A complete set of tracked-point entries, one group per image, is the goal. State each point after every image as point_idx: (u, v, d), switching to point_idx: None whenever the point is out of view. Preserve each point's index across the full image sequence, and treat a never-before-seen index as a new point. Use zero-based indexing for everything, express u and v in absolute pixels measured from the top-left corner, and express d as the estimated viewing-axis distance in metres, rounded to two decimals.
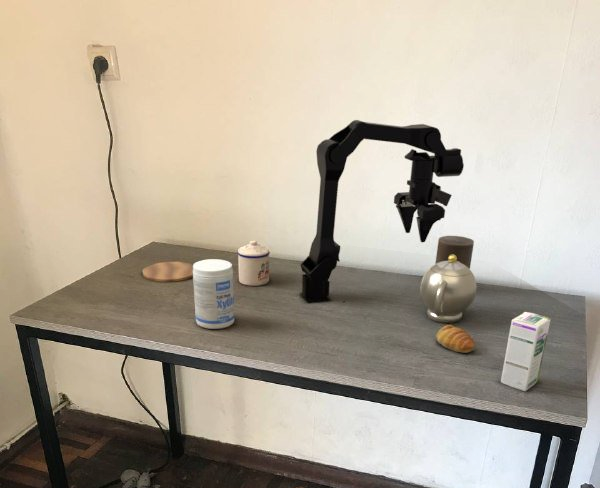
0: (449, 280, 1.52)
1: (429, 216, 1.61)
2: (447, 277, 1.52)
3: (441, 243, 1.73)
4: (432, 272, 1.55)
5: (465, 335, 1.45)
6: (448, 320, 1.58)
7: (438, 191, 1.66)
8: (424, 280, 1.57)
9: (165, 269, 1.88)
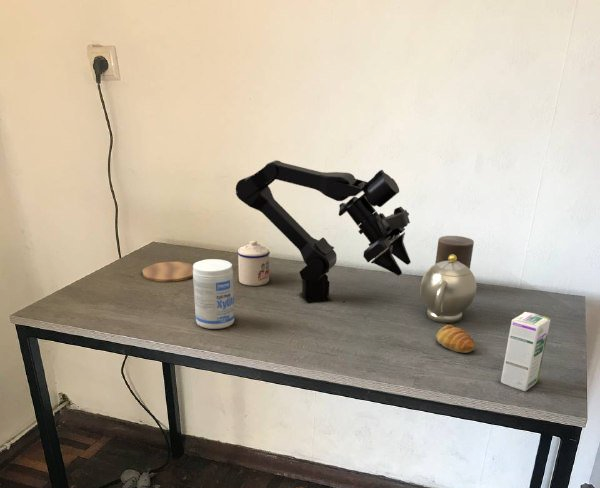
0: (449, 280, 1.52)
1: (370, 257, 1.52)
2: (447, 277, 1.52)
3: (441, 243, 1.73)
4: (432, 272, 1.55)
5: (465, 335, 1.45)
6: (448, 320, 1.58)
7: (385, 221, 1.53)
8: (424, 280, 1.57)
9: (165, 269, 1.88)
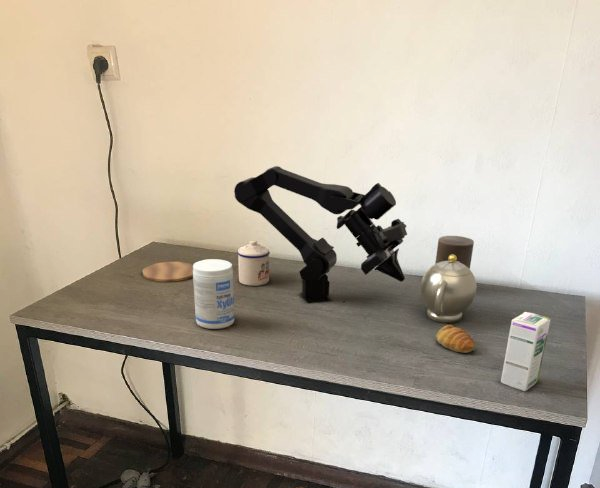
0: (449, 280, 1.52)
1: (368, 269, 1.53)
2: (447, 277, 1.52)
3: (441, 243, 1.73)
4: (432, 272, 1.55)
5: (465, 335, 1.45)
6: (448, 320, 1.58)
7: (382, 233, 1.55)
8: (424, 280, 1.57)
9: (165, 269, 1.88)
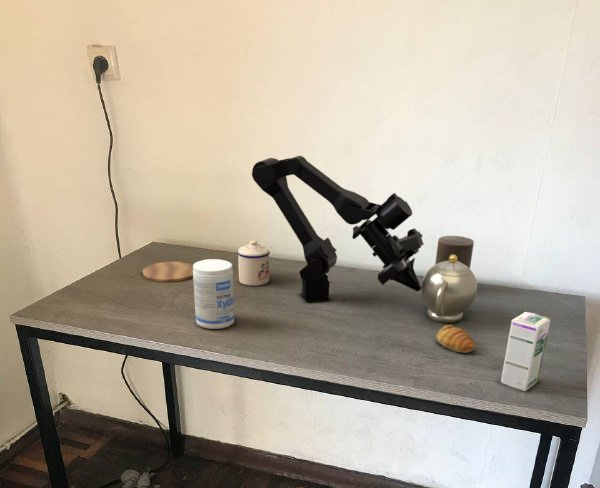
0: (450, 280, 1.52)
1: (384, 279, 1.52)
2: (448, 277, 1.52)
3: (441, 243, 1.73)
4: (433, 272, 1.55)
5: (465, 335, 1.45)
6: (449, 320, 1.58)
7: (398, 243, 1.54)
8: (425, 280, 1.56)
9: (165, 269, 1.88)
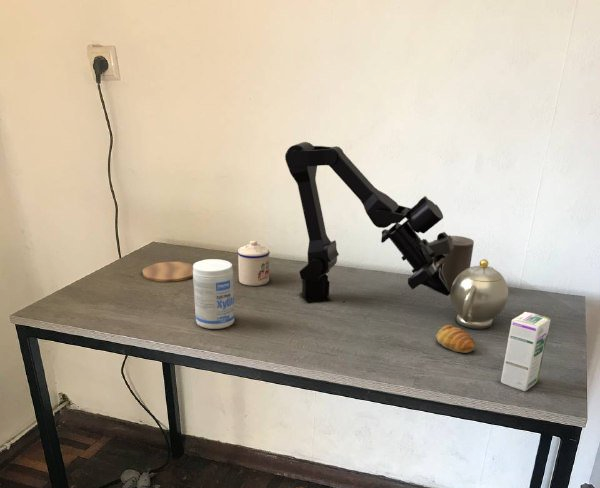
0: (479, 285, 1.49)
1: (415, 284, 1.50)
2: (477, 282, 1.49)
3: None
4: (462, 277, 1.52)
5: (465, 335, 1.45)
6: (477, 326, 1.55)
7: (429, 247, 1.52)
8: (454, 284, 1.54)
9: (165, 269, 1.88)
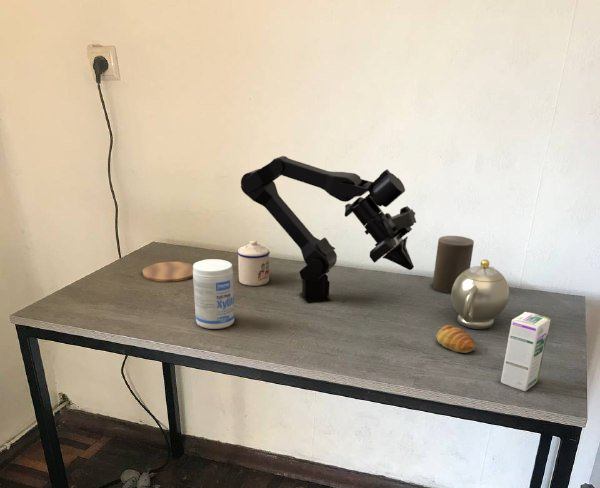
0: (480, 285, 1.49)
1: (376, 257, 1.51)
2: (478, 282, 1.49)
3: (441, 243, 1.73)
4: (463, 277, 1.52)
5: (465, 335, 1.45)
6: (478, 326, 1.55)
7: (391, 220, 1.52)
8: (455, 285, 1.54)
9: (165, 269, 1.88)
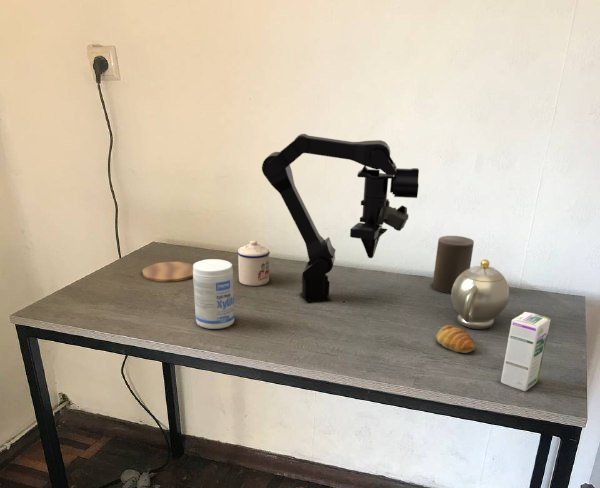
0: (480, 285, 1.49)
1: (355, 235, 1.54)
2: (478, 282, 1.49)
3: (441, 243, 1.73)
4: (463, 277, 1.52)
5: (465, 335, 1.45)
6: (478, 326, 1.55)
7: (387, 213, 1.56)
8: (455, 285, 1.54)
9: (165, 269, 1.88)
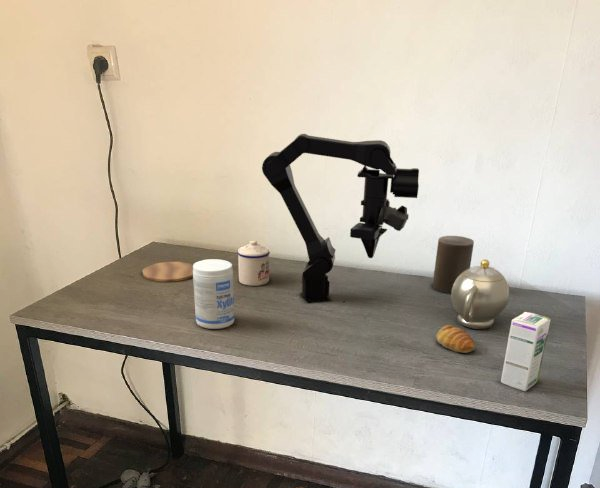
0: (480, 285, 1.49)
1: (355, 235, 1.54)
2: (478, 282, 1.49)
3: (441, 243, 1.73)
4: (463, 277, 1.52)
5: (465, 335, 1.45)
6: (478, 326, 1.55)
7: (387, 213, 1.56)
8: (455, 285, 1.54)
9: (165, 269, 1.88)
